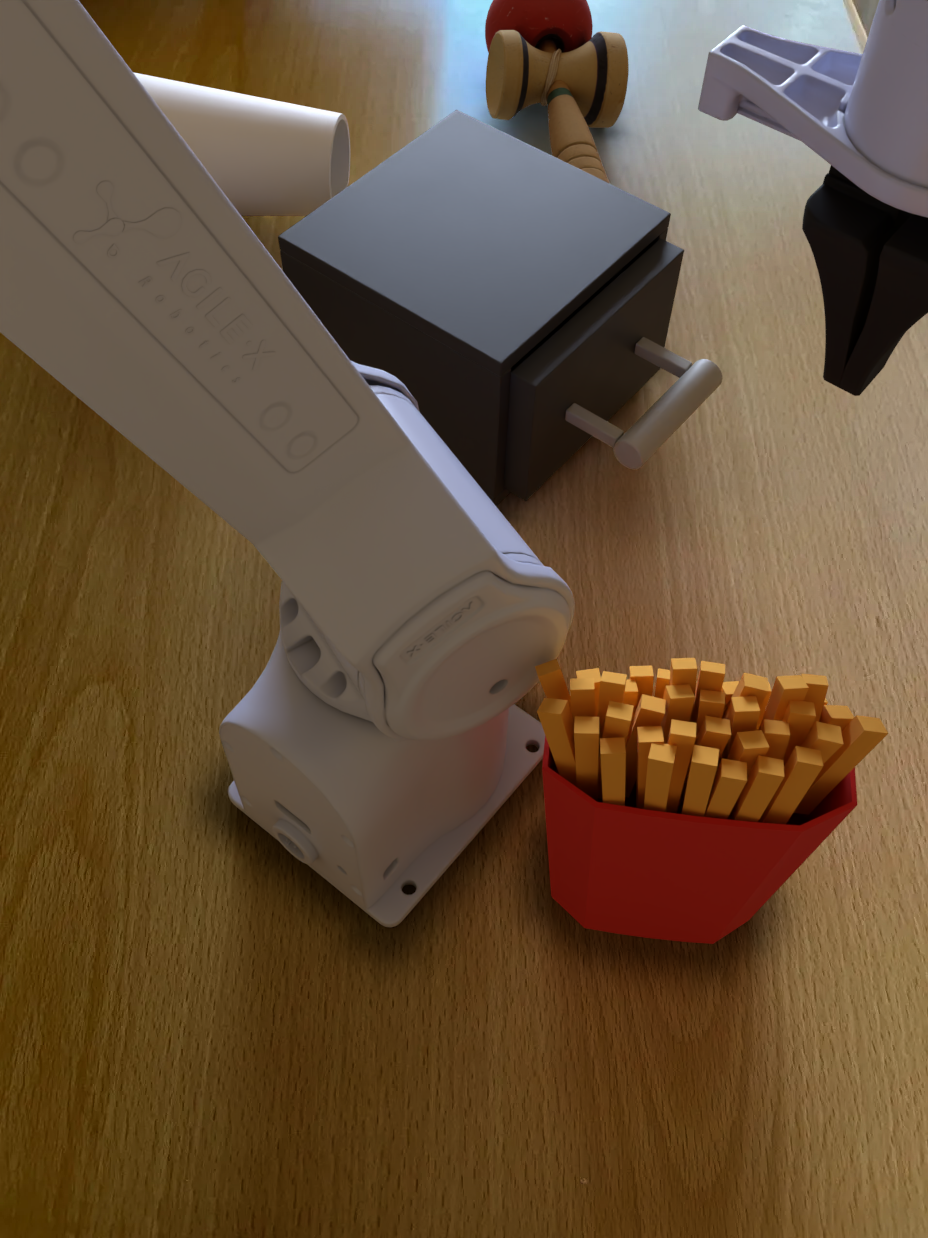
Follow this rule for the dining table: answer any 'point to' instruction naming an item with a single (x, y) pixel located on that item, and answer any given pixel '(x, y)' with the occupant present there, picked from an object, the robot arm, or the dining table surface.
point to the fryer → (463, 270)
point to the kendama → (556, 73)
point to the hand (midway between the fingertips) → (853, 372)
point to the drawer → (603, 376)
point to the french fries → (689, 792)
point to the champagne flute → (259, 146)
